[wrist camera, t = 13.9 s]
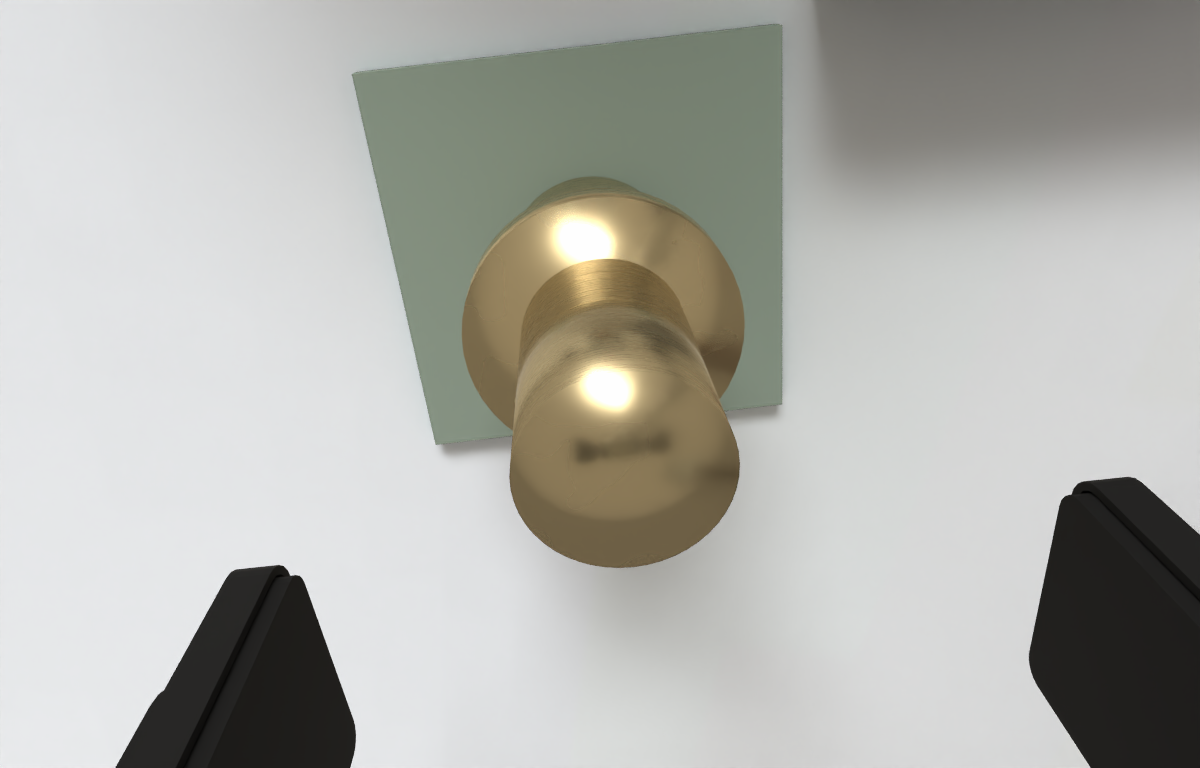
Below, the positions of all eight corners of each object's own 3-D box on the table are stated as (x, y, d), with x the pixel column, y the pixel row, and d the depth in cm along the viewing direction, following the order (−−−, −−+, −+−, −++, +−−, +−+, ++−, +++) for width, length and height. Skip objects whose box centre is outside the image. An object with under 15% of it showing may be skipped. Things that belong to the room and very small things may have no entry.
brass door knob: (696, 133, 23) (826, 268, 12) (704, 345, 26) (814, 604, 15) (464, 158, 23) (388, 317, 12) (499, 367, 26) (464, 643, 15)
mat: (776, 23, 23) (782, 24, 22) (777, 396, 28) (782, 404, 28) (356, 72, 23) (351, 74, 22) (437, 436, 28) (435, 445, 28)
